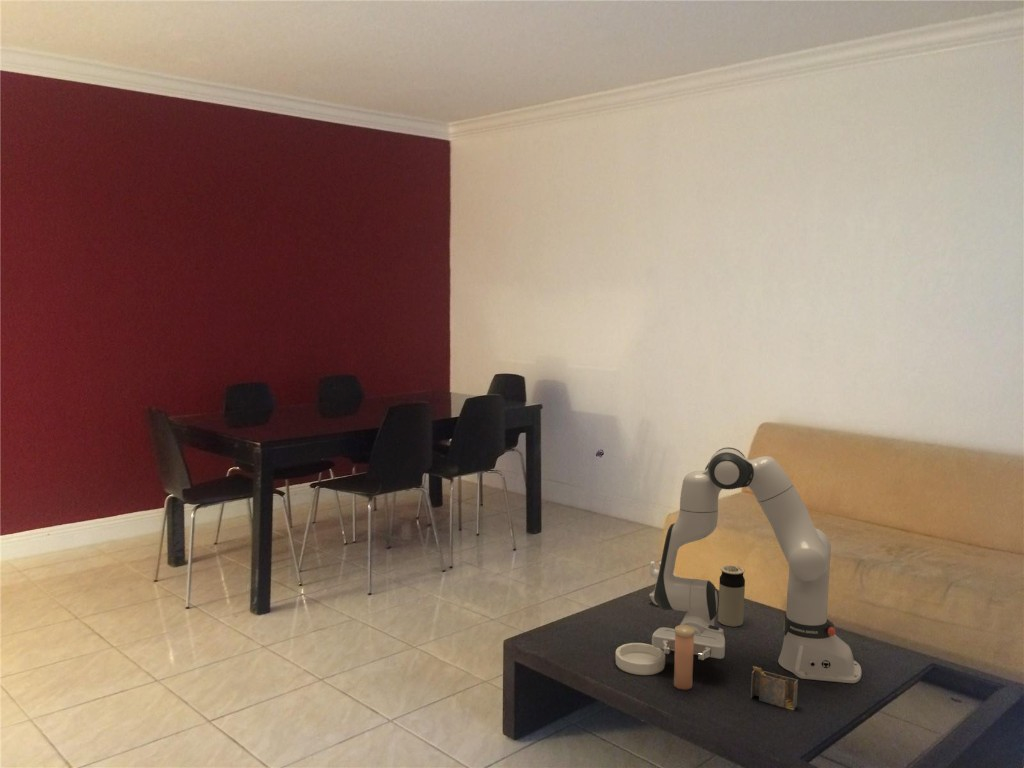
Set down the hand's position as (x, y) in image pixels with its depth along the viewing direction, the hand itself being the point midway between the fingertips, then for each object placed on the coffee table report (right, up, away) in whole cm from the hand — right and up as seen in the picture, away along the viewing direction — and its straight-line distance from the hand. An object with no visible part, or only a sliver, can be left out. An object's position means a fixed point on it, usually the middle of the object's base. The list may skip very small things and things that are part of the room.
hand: (683, 654), depth 227 cm
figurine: (+5, -2, +60) cm, 60 cm away
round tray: (-10, -7, +14) cm, 19 cm away
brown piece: (+22, -11, -8) cm, 26 cm away
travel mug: (+24, -4, +44) cm, 51 cm away
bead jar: (0, -9, +1) cm, 9 cm away
